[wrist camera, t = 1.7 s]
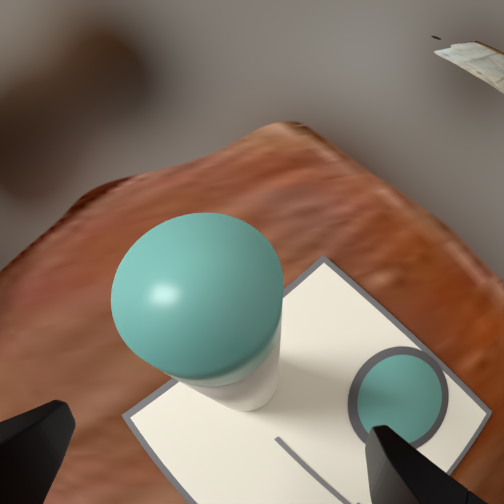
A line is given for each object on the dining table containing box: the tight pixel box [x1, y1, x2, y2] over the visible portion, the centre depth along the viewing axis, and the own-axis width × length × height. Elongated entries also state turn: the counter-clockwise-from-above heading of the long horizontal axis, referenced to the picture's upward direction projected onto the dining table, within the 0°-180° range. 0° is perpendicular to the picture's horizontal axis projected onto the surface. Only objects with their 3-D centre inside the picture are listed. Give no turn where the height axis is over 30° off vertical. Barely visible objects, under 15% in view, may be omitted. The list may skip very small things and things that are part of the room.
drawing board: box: [122, 255, 492, 504], centre depth 15 cm, size 18×18×1 cm
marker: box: [111, 213, 283, 412], centre depth 12 cm, size 4×4×13 cm
